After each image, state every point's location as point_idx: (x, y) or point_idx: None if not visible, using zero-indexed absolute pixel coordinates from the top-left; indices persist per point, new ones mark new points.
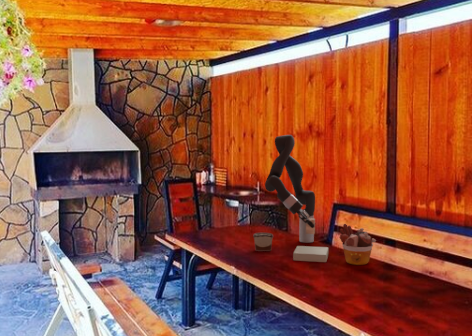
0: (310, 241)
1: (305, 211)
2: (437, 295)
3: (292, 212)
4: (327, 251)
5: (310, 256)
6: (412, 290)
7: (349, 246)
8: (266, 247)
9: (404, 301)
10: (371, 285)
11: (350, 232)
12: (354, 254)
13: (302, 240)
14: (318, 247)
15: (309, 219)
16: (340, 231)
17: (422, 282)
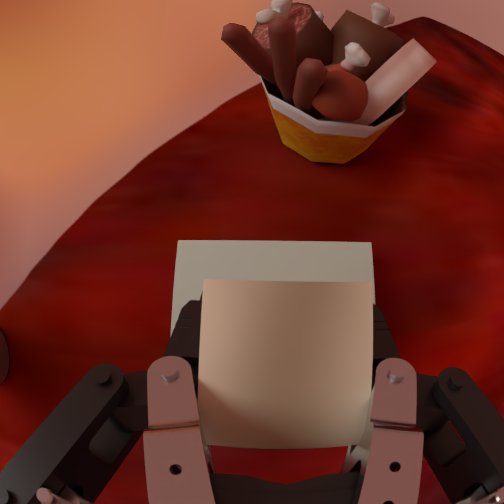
0: (2, 338)
1: (17, 484)
2: (483, 58)
3: None
4: (260, 242)
5: None
6: (488, 78)
7: (405, 104)
8: None
9: None
10: None
11: (262, 51)
12: (387, 112)
13: (1, 374)
14: (188, 300)
15: (332, 385)
16: (320, 81)
17: (433, 46)
